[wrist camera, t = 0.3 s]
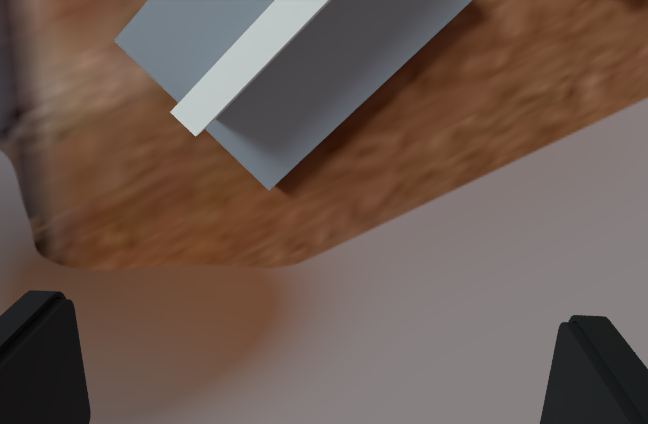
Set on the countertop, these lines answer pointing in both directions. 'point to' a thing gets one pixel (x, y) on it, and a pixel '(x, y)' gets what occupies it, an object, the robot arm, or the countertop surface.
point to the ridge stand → (276, 66)
